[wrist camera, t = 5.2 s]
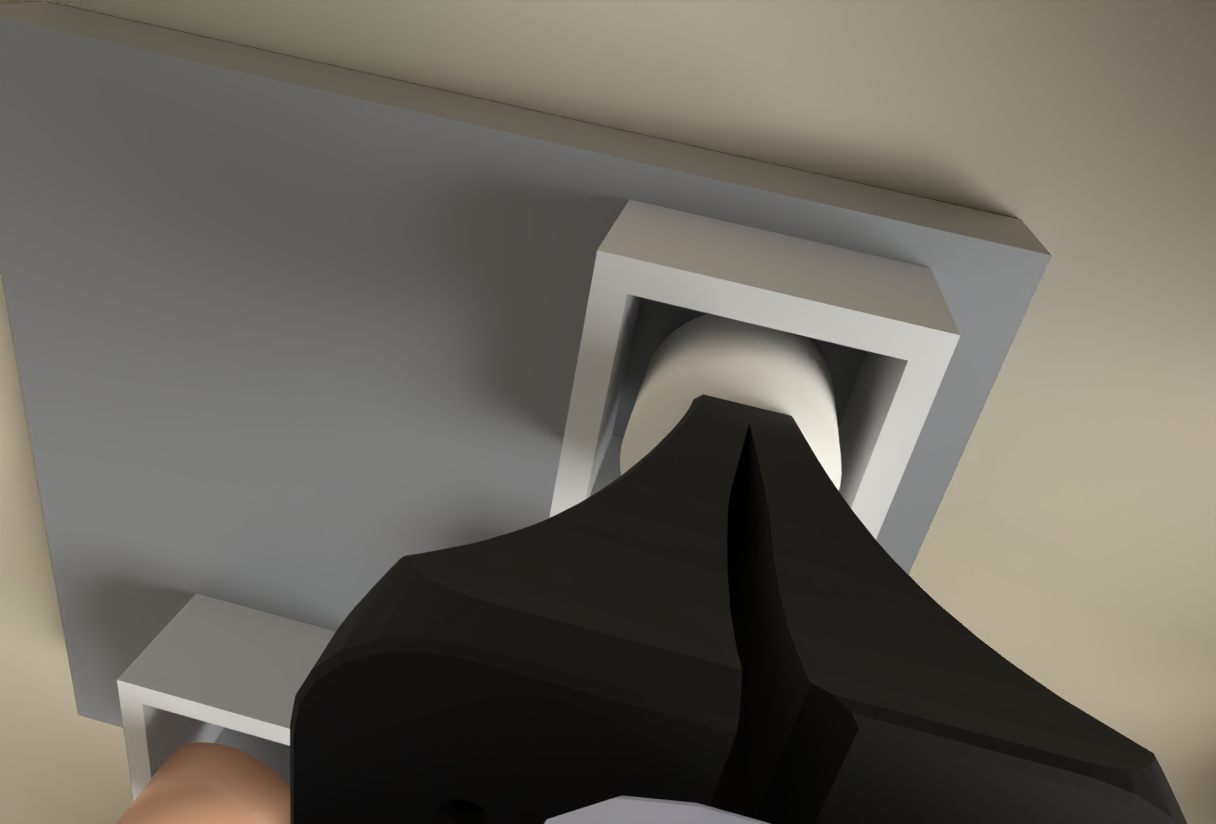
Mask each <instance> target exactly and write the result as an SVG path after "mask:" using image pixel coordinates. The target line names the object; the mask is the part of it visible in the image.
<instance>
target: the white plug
mask: <svg viewBox="0 0 1216 824" xmlns="http://www.w3.org/2000/svg"><path fill="white" fill-rule="evenodd" d="M703 394H704V395H708V396H712V397H716V398H720V399H724V400H728V401H732V402H737V403H741V404H745V405H749V406H753V407H757V408H761V409H765V410H770V411H774V412H778V413H782V414H786V415H790V416H792V417H793V418H794V420H795V422H796V423H797V425H798V427H799V428H800V430H801V432H802V434H803V435H804V437H805V439H806V440H807V442H808V444H809V445H810V447H811V449H812V450H813V452H814V454H815V455H816V457H817V459H818V460H819V462H820V463H821V465H822V467H823V468H824V470H825V471H826V473H827V474H828V476H829V477H830V479H831V480H832V482H833V483H834V485H835V486H836V488H837V489H838V491H839V488H840V483H841V475H842V470H841V454H840V444H839V434H838V424H837V414H836V404H835V395H834V386H833V381H832V376H831V373H830V371H829V368H828V365H827V363H826V361H825V359H824V358H823V356H822V354H821V353H820V351H819V350H818V349H817V347H816V346H815V345H814V344H813V343H812V342H811V341H810V339H809V338H808V337H806V336H802V335H798V334H794V333H790V332H785V331H781V330H777V329H773V328H768V327H764V326H760V325H756V324H752V323H747V322H743V321H739V320H735V319H731V318H726V317H722V316H718V315H714V314H710V313H709V314H706V315H703V316H700V317H697V318H695V319H693V320H691V321H689V322H687V323H685V324H683V325H682V326H680V327H679V328H677V329H676V330H675V331H673V332H672V333H671V334H670V335H669V336H668V337H666V339H665V340H664V341H663V342H662V343H661V344H660V345H659V347H658V348H657V350H656V351H655V353H654V354H653V356H652V358H651V360H650V362H649V364H648V367H647V370H646V373H645V376H644V379H643V381H642V384H641V387H640V390H639V393H638V396H637V399H636V402H635V405H634V408H633V411H632V414H631V417H630V420H629V423H628V426H627V429H626V432H625V435H624V438H623V441H622V445H621V452H620V471H621V475H623V474H624V473H625V472H626V471H628V470H629V469H630V468H631V467H632V466H634V465H635V464H636V463H637V462H639V461H640V460H641V459H642V458H643V457H645V456H646V455H647V454H648V453H649V452H650V451H651V450H653V449H654V448H655V447H656V446H657V445H658V444H659V443H660V442H661V441H662V440H663V439H664V438H665V437H666V436H667V435H668V434H669V433H670V432H671V430H672V429H673V428H674V427H675V426H676V425H677V424H678V422H679V421H680V420H681V419H682V417H683V416H684V415H685V414H686V412H687V411H688V409H689V407H690V406H691V404H692V401H693V399H695V398H697V397H699V396H701V395H703Z"/></svg>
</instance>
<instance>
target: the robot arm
mask: <svg viewBox="0 0 1216 824" xmlns="http://www.w3.org/2000/svg"><path fill="white" fill-rule="evenodd" d="M290 823H291V824H1187V822H1186V820H1185V818H1184V816H1183V813H1182V811H1181V809H1180V807H1179V804H1178V802H1177V800H1176V798H1175V796H1174V794H1173V792H1172V789H1171V787H1170V785H1169V783H1168V781H1167V779H1166V777H1165V775H1164V773H1163V770H1162V769H1161V767H1160V765H1159V763H1158V761H1157V759H1156V757H1155V755H1154V753H1152V752H1150V751H1149V750H1147V749H1145V748H1144V747H1142V746H1140V745H1139V744H1137V743H1135V742H1134V741H1132V740H1130V739H1129V738H1127V737H1125V736H1124V735H1122V734H1120V733H1119V732H1117V731H1115V730H1114V729H1112V728H1110V727H1109V726H1107V725H1105V724H1104V723H1102V722H1100V721H1099V720H1097V719H1095V718H1094V717H1092V716H1090V715H1089V714H1087V713H1085V712H1084V711H1082V710H1080V709H1079V708H1077V707H1075V706H1074V705H1072V704H1070V703H1069V702H1067V701H1065V700H1064V699H1062V698H1061V697H1059V696H1058V695H1056V694H1055V693H1053V692H1052V691H1050V690H1049V689H1047V688H1046V687H1045V686H1043V685H1042V684H1040V683H1039V682H1037V681H1036V680H1035V679H1033V678H1032V677H1030V676H1029V675H1027V674H1026V673H1025V672H1023V671H1022V670H1020V669H1019V668H1017V667H1016V666H1015V665H1013V664H1012V663H1010V662H1009V661H1008V660H1006V659H1005V658H1004V657H1002V656H1001V655H1000V654H998V653H997V652H996V651H994V650H993V649H992V648H991V647H989V646H988V645H987V644H985V643H984V642H983V641H981V640H980V639H979V638H978V637H976V636H975V635H974V634H973V633H972V632H971V631H969V630H968V629H967V628H966V627H965V626H963V625H962V624H961V623H960V622H959V621H958V620H956V619H955V618H954V617H953V616H952V615H950V614H949V613H948V612H947V611H946V610H945V609H943V608H942V607H941V606H940V605H939V604H938V603H937V602H936V601H935V600H933V599H932V598H931V597H930V596H929V595H928V594H927V593H926V592H925V591H924V590H923V589H922V588H921V587H920V586H919V585H918V584H917V583H916V582H915V581H914V580H913V579H912V578H911V577H910V576H909V575H908V574H907V573H906V572H905V571H904V570H903V569H902V568H901V567H900V566H899V565H898V564H897V563H896V562H895V561H894V560H893V559H892V558H891V556H890V555H889V554H888V553H887V552H886V551H885V550H884V549H883V547H882V546H881V545H880V544H879V543H878V542H877V541H876V539H875V538H874V537H873V536H872V534H871V533H870V532H869V531H868V529H867V528H866V527H865V525H864V524H863V523H862V522H861V520H860V519H859V518H858V517H857V515H856V514H855V513H854V512H853V510H852V509H851V508H850V506H849V505H848V503H847V502H846V501H845V499H844V498H843V497H842V495H841V494H840V492H839V491H838V489H837V488H836V486H835V485H834V483H833V482H832V480H831V479H830V477H829V476H828V474H827V473H826V471H825V470H824V468H823V467H822V465H821V463H820V462H819V460H818V459H817V457H816V455H815V454H814V452H813V450H812V449H811V447H810V445H809V444H808V442H807V440H806V439H805V437H804V435H803V434H802V432H801V430H800V428H799V427H798V425H797V423H796V422H795V420H794V418H793V417H792V416H790V415H786V414H782V413H778V412H774V411H770V410H765V409H761V408H757V407H753V406H749V405H745V404H741V403H737V402H732V401H728V400H724V399H720V398H716V397H712V396H708V395H704V394H703V395H701V396H699V397H697V398H695V399H693V401H692V404H691V406H690V407H689V409H688V411H687V412H686V414H685V415H684V416H683V417H682V419H681V420H680V421H679V422H678V424H677V425H676V426H675V427H674V428H673V429H672V430H671V432H670V433H669V434H668V435H667V436H666V437H665V438H664V439H663V440H662V441H661V442H660V443H659V444H658V445H657V446H656V447H655V448H654V449H653V450H651V451H650V452H649V453H648V454H647V455H646V456H645V457H643V458H642V459H641V460H640V461H639V462H637V463H636V464H635V465H634V466H632V467H631V468H630V469H629V470H628V471H626V472H625V473H624V474H623V475H621V476H620V477H619V478H617V479H616V480H614V481H613V482H612V483H610V484H609V485H607V486H606V487H604V488H603V489H601V490H600V491H598V492H597V493H595V494H593V495H592V496H590V497H588V498H587V499H585V500H583V501H582V502H580V503H578V504H576V505H574V506H572V507H570V508H568V509H567V510H565V511H563V512H561V513H559V514H557V515H555V516H552V517H550V518H548V519H546V520H544V521H542V522H539V523H536V524H534V525H531V526H528V527H525V528H522V529H520V530H517V531H514V532H511V533H507V534H504V535H501V536H497V537H494V538H491V539H487V540H483V541H479V542H475V543H471V544H467V545H461V546H456V547H451V548H446V549H441V550H435V551H430V552H425V553H420V554H413V555H405V556H403V557H402V558H400V559H399V560H398V561H397V562H396V563H395V564H394V565H393V566H392V567H391V568H390V569H389V570H388V572H387V573H386V574H385V575H384V576H383V577H382V578H381V579H380V580H379V581H378V582H377V583H376V584H375V585H374V586H373V587H372V588H371V590H370V591H369V592H368V593H367V594H366V596H365V597H364V598H363V599H362V600H361V601H360V602H359V603H358V604H357V605H356V606H355V607H354V609H353V610H352V611H351V612H350V613H349V615H348V616H347V617H346V619H345V620H344V621H343V623H342V624H341V625H340V626H339V628H338V629H337V631H336V632H335V634H334V635H333V637H332V638H331V640H330V641H329V643H328V645H327V646H326V648H325V649H324V651H323V653H322V654H321V656H320V657H319V659H318V660H317V662H316V664H315V665H314V667H313V668H312V670H311V671H310V673H309V674H308V676H307V678H306V679H305V681H304V682H303V684H302V685H301V687H300V689H299V690H298V692H297V693H296V695H295V700H294V705H293V710H292V716H291V721H290Z"/></svg>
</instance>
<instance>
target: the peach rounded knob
mask: <svg viewBox="0 0 1216 824" xmlns="http://www.w3.org/2000/svg"><path fill="white" fill-rule="evenodd" d="M117 824H291V823H290V789H289V787H288V786H287V785H286V783H285V782H284V781H283V780H282V779H281V777H280V776H279V775H278V774H277V773H275V772H274V771H273V770H272V769H271V768H270V767H268V766H267V765H266V764H264V763H263V762H261V761H260V760H258V759H257V758H255V757H253V756H251V755H249V754H247V753H245V752H243V751H240V750H238V749H235V748H232V747H229V746H226V745H221V744H216V743H207V742H198V743H191V744H186V745H183V746H181V747H179V748H177V749H175V750H174V751H173V752H172V753H171V754H170V755H169V756H168V758H167V759H166V760H165V762H164V763H163V764H162V765H161V767H160V768H159V769H158V771H157V772H156V773H155V775H154V776H153V777H152V778H151V780H150V781H149V782H148V784H147V785H146V786H145V788H144V789H143V790H142V791H141V793H140V794H139V795H138V797H137V798H136V799H135V801H134V802H133V803H132V804H131V806H130V807H129V808H128V810H127V811H126V812H125V814H124V815H123V816H122V817H121V819H120V820H119V821H118V823H117Z"/></svg>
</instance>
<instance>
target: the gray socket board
mask: <svg viewBox="0 0 1216 824" xmlns="http://www.w3.org/2000/svg"><path fill="white" fill-rule="evenodd" d="M1050 257H1051V254H1050V253H1049V252H1048V251H1047V250H1046V249H1045V247H1044V246H1043V245H1042V244H1041V243H1040V242H1039V240H1038V239H1037V238H1036V237H1035V236H1034V234H1033V233H1032V232H1031V231H1030V230H1029V229H1028V227H1027V226H1026V225H1025V224H1024V223H1023V222H1022V220H1021V219H1017V218H1012V217H1008V216H1003V215H999V214H994V213H990V212H985V211H981V210H976V209H972V208H967V207H963V206H958V205H954V204H949V203H945V202H941V201H936V200H932V199H927V198H923V197H918V196H914V195H909V194H905V193H900V192H896V191H891V190H887V189H882V188H878V187H873V186H869V185H864V184H860V183H856V182H851V181H847V180H842V179H838V178H833V177H829V176H824V175H820V174H815V173H811V172H806V171H802V170H797V169H793V168H788V167H784V166H780V165H775V164H771V163H766V162H762V161H757V160H753V159H748V158H744V157H739V156H735V155H730V154H726V153H721V152H717V151H712V150H708V149H703V148H699V147H695V146H690V145H686V144H681V143H677V142H672V141H668V140H663V139H659V138H654V137H650V136H645V135H641V134H636V133H632V132H627V131H623V130H619V129H614V128H610V127H605V126H601V125H596V124H592V123H587V122H583V121H578V120H574V119H569V118H565V117H560V116H556V115H551V114H547V113H543V112H538V111H534V110H529V109H525V108H520V107H516V106H511V105H507V104H502V103H498V102H493V101H489V100H484V99H480V98H475V97H471V96H466V95H462V94H458V93H453V92H449V91H444V90H440V89H435V88H431V87H426V86H422V85H417V84H413V83H408V82H404V81H399V80H395V79H390V78H386V77H382V76H377V75H373V74H368V73H364V72H359V71H355V70H350V69H346V68H341V67H337V66H332V65H328V64H323V63H319V62H314V61H310V60H306V59H301V58H297V57H292V56H288V55H283V54H279V53H274V52H270V51H265V50H261V49H256V48H252V47H247V46H243V45H238V44H234V43H229V42H225V41H221V40H216V39H212V38H207V37H203V36H198V35H194V34H189V33H185V32H180V31H176V30H171V29H167V28H162V27H158V26H153V25H149V24H145V23H140V22H136V21H131V20H127V19H122V18H118V17H113V16H109V15H104V14H100V13H95V12H91V11H86V10H82V9H77V8H73V7H68V6H64V5H60V4H55V3H51V2H46V1H38V2H24V3H10V4H0V270H1V276H2V282H3V287H4V293H5V299H6V304H7V310H8V316H9V322H10V327H11V333H12V339H13V345H14V350H15V356H16V362H17V367H18V373H19V379H20V385H21V390H22V396H23V402H24V408H25V413H26V419H27V425H28V430H29V436H30V442H31V448H32V453H33V459H34V465H35V471H36V476H37V482H38V488H39V493H40V499H41V505H42V511H43V516H44V522H45V528H46V534H47V539H48V545H49V551H50V557H51V562H52V568H53V574H54V579H55V585H56V591H57V597H58V602H59V608H60V614H61V620H62V625H63V631H64V637H65V642H66V648H67V654H68V660H69V665H70V671H71V677H72V683H73V688H74V694H75V700H76V705H77V711H78V715H81V716H84V717H88V718H91V719H95V720H98V721H102V722H105V723H109V724H112V725H116V726H119V727H123V728H124V735H125V742H126V749H127V757H128V764H129V771H130V778H131V785H132V792H133V800H134V801H135V799H136V798H137V797H138V795H139V794H140V793H141V791H142V790H143V789H144V788H145V786H146V785H147V784H148V782H149V781H150V780H151V778H152V777H153V776H154V775H155V773H156V772H157V771H158V769H159V768H160V767H161V765H162V764H163V763H164V762H165V760H166V759H167V758H168V756H169V755H170V754H171V753H172V752H173V751H174V750H175V749H177V748H179V747H181V746H183V745H186V744H191V743H198V742H207V743H216V744H221V745H226V746H229V747H232V748H235V749H238V750H240V751H243V752H245V753H247V754H249V755H251V756H253V757H255V758H257V759H258V760H260V761H261V762H263V763H264V764H266V765H267V766H268V767H270V768H271V769H272V770H273V771H274V772H275V773H277V774H278V775H279V776H280V777H281V779H282V780H283V781H284V782H285V783H286V785H287V786H288V787H289V789H290V721H291V716H292V710H293V705H294V700H295V695H296V693H297V692H298V690H299V689H300V687H301V685H302V684H303V682H304V681H305V679H306V678H307V676H308V674H309V673H310V671H311V670H312V668H313V667H314V665H315V664H316V662H317V660H318V659H319V657H320V656H321V654H322V653H323V651H324V649H325V648H326V646H327V645H328V643H329V641H330V640H331V638H332V637H333V635H334V634H335V632H336V631H337V629H338V628H339V626H340V625H341V624H342V623H343V621H344V620H345V619H346V617H347V616H348V615H349V613H350V612H351V611H352V610H353V609H354V607H355V606H356V605H357V604H358V603H359V602H360V601H361V600H362V599H363V598H364V597H365V596H366V594H367V593H368V592H369V591H370V590H371V588H372V587H373V586H374V585H375V584H376V583H377V582H378V581H379V580H380V579H381V578H382V577H383V576H384V575H385V574H386V573H387V572H388V570H389V569H390V568H391V567H392V566H393V565H394V564H395V563H396V562H397V561H398V560H399V559H400V558H402V557H403V556H405V555H413V554H420V553H425V552H430V551H435V550H441V549H446V548H451V547H456V546H461V545H467V544H471V543H475V542H479V541H483V540H487V539H491V538H494V537H497V536H501V535H504V534H507V533H511V532H514V531H517V530H520V529H522V528H525V527H528V526H531V525H534V524H536V523H539V522H542V521H544V520H546V519H548V518H550V517H552V516H555V515H557V514H559V513H561V512H563V511H565V510H567V509H568V508H570V507H572V506H574V505H576V504H578V503H580V502H582V501H583V500H585V499H587V498H588V497H590V496H592V495H593V494H595V493H597V492H598V491H600V490H601V489H603V488H604V487H606V486H607V485H609V484H610V483H612V482H613V481H614V480H616V479H617V478H619V477H620V476H621V471H620V452H621V445H622V441H623V438H624V435H625V432H626V429H627V426H628V423H629V420H630V417H631V414H632V411H633V408H634V405H635V402H636V399H637V396H638V393H639V390H640V387H641V384H642V381H643V379H644V376H645V373H646V370H647V367H648V364H649V362H650V360H651V358H652V356H653V354H654V353H655V351H656V350H657V348H658V347H659V345H660V344H661V343H662V342H663V341H664V340H665V339H666V337H668V336H669V335H670V334H671V333H672V332H673V331H675V330H676V329H677V328H679V327H680V326H682V325H683V324H685V323H687V322H689V321H691V320H693V319H695V318H697V317H700V316H703V315H706V314H709V313H710V314H714V315H718V316H722V317H726V318H731V319H735V320H739V321H743V322H747V323H752V324H756V325H760V326H764V327H768V328H773V329H777V330H781V331H785V332H790V333H794V334H798V335H802V336H806V337H808V338H809V339H810V341H811V342H812V343H813V344H814V345H815V346H816V347H817V349H818V350H819V351H820V353H821V354H822V356H823V358H824V359H825V361H826V363H827V365H828V368H829V371H830V373H831V376H832V381H833V386H834V395H835V404H836V414H837V424H838V434H839V444H840V454H841V470H842V475H841V483H840V488H839V492H840V494H841V495H842V497H843V498H844V499H845V501H846V502H847V503H848V505H849V506H850V508H851V509H852V510H853V512H854V513H855V514H856V515H857V517H858V518H859V519H860V520H861V522H862V523H863V524H864V525H865V527H866V528H867V529H868V531H869V532H870V533H871V534H872V536H873V537H874V538H875V539H876V541H877V542H878V543H879V544H880V545H881V546H882V547H883V549H884V550H885V551H886V552H887V553H888V554H889V555H890V556H891V558H892V559H893V560H894V561H895V562H896V563H897V564H898V565H899V566H900V567H901V568H902V569H903V570H904V571H905V572H906V573H907V574H909V572H910V570H911V567H912V565H913V563H914V561H915V558H916V556H917V554H918V552H919V549H920V547H921V545H922V543H923V541H924V538H925V536H926V534H927V532H928V529H929V527H930V525H931V523H932V520H933V518H934V516H935V514H936V511H937V509H938V507H939V505H940V503H941V500H942V498H943V496H944V494H945V491H946V489H947V487H948V485H949V482H950V480H951V478H952V476H953V474H954V471H955V469H956V467H957V465H958V462H959V460H960V458H961V456H962V453H963V451H964V449H965V447H966V445H967V442H968V440H969V438H970V436H971V433H972V431H973V429H974V427H975V424H976V422H977V420H978V418H979V415H980V413H981V411H982V409H983V407H984V404H985V402H986V400H987V398H988V395H989V393H990V391H991V389H992V386H993V384H994V382H995V380H996V378H997V375H998V373H999V371H1000V369H1001V366H1002V364H1003V362H1004V360H1005V357H1006V355H1007V353H1008V351H1009V349H1010V346H1011V344H1012V342H1013V340H1014V337H1015V335H1016V333H1017V331H1018V328H1019V326H1020V324H1021V322H1022V319H1023V317H1024V315H1025V313H1026V311H1027V308H1028V306H1029V304H1030V302H1031V299H1032V297H1033V295H1034V293H1035V290H1036V288H1037V286H1038V284H1039V282H1040V279H1041V277H1042V275H1043V273H1044V270H1045V268H1046V266H1047V264H1048V261H1049V259H1050Z"/></svg>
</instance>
